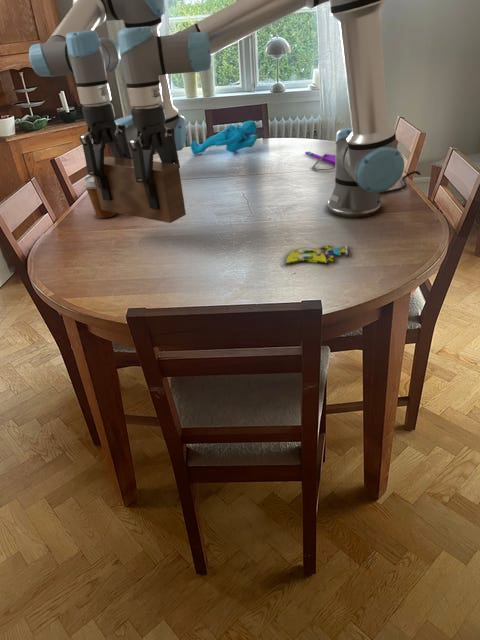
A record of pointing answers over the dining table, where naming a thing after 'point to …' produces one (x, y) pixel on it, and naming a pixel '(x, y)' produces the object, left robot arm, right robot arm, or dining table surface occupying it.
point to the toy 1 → (230, 138)
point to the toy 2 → (315, 255)
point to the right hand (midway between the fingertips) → (163, 203)
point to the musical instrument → (325, 157)
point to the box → (142, 190)
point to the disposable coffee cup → (95, 198)
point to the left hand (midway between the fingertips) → (117, 195)
